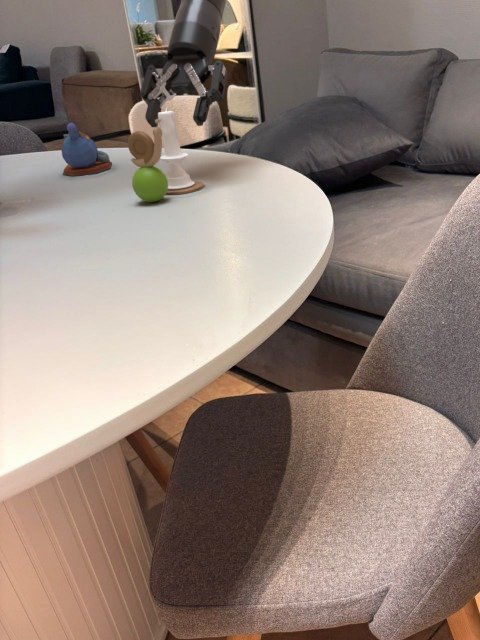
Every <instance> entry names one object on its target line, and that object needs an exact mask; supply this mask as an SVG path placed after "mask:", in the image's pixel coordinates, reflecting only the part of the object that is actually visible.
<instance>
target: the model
mask: <svg viewBox="0 0 480 640" xmlns="http://www.w3.org/2000/svg"><path fill="white" fill-rule="evenodd" d="M66 130H67V132H68V133H65V134H63V139H64V140H63V144H62V147H61V156H62V159H63V161H64V162H65V163H66V166H65V167H64V169H63V172H62V175H63V176H68V177H80V176H89V175H96V174H100V173H102V172H103V173H104V172H105V171H108V170H110V169H111V168H112V164H113V162H112V161H111V160H110V156H109V154H108V153H107V152H105V151H103V150H102V151H101V150H98V146H97V145H96V143H95V141H94V140H93V139H92V138H90V136H89V135H88V134H86V133H84V132H82V131H78V127H77V125H76V124H75V123H73V122H70V123H68V124H67V125H66Z"/></svg>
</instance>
